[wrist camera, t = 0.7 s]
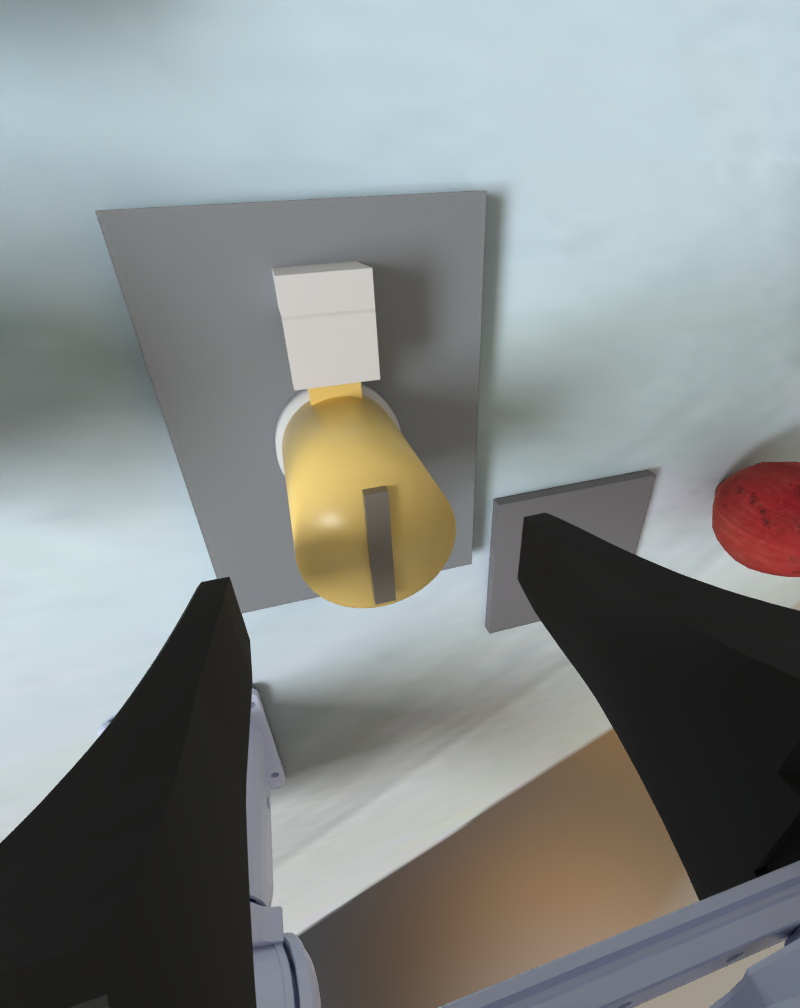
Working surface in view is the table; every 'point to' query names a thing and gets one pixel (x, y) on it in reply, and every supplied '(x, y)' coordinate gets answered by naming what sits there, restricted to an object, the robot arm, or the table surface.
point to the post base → (251, 357)
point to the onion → (761, 517)
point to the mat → (588, 505)
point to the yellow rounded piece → (361, 502)
